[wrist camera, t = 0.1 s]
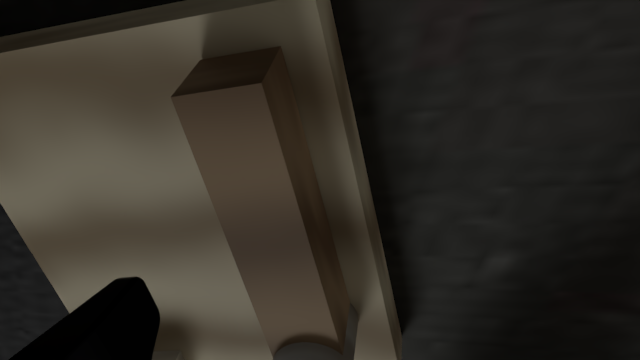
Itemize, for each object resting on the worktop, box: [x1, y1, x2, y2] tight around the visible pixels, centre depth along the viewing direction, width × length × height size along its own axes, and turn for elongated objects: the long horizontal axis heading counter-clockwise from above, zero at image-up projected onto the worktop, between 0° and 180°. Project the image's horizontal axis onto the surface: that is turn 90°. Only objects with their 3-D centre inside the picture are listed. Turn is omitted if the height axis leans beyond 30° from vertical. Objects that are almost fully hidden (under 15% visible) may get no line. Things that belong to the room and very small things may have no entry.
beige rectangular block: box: [0, 0, 402, 360], centre depth 25 cm, size 19×16×6 cm
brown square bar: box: [171, 46, 358, 360], centre depth 23 cm, size 15×3×4 cm, turn 13°
